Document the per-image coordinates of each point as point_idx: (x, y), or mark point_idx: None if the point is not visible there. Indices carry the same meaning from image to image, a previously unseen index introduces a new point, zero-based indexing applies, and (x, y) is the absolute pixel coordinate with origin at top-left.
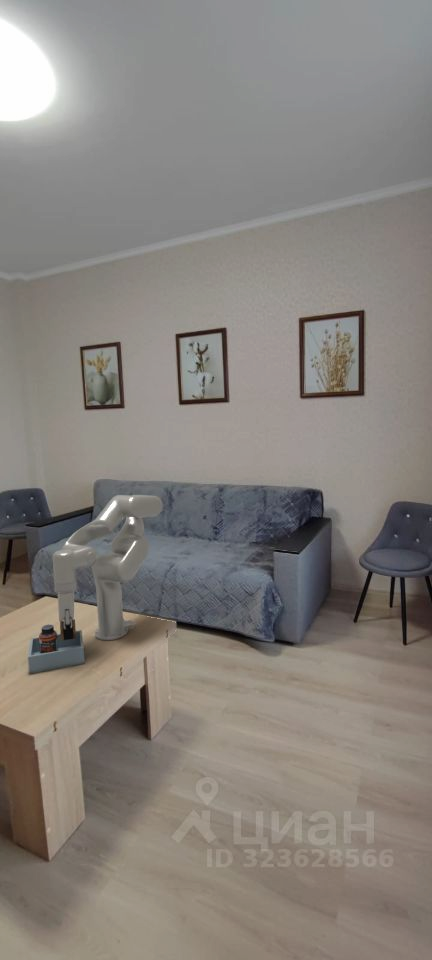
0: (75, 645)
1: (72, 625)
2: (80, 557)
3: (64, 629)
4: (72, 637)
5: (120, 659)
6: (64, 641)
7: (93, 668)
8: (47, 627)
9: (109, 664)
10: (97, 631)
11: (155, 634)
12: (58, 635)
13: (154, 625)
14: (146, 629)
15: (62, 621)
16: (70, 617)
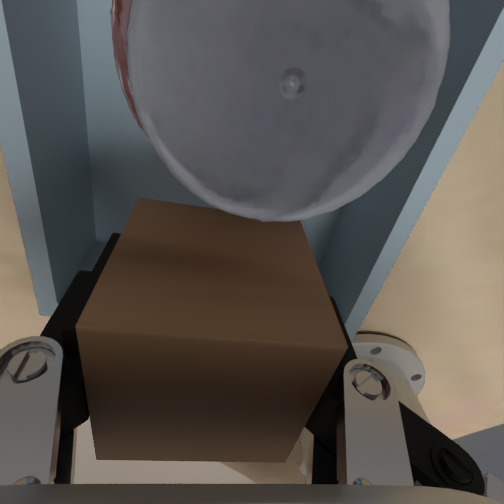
0: (320, 244)
1: (97, 434)
2: None
3: (16, 345)
4: None
5: None
6: (363, 203)
7: (12, 269)
8: (241, 76)
9: (38, 330)
10: (388, 354)
11: (230, 463)
12: (407, 189)
13: (299, 469)
14: None
15: (314, 370)
16: (309, 474)
